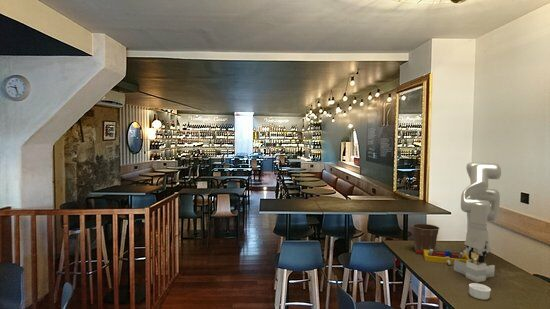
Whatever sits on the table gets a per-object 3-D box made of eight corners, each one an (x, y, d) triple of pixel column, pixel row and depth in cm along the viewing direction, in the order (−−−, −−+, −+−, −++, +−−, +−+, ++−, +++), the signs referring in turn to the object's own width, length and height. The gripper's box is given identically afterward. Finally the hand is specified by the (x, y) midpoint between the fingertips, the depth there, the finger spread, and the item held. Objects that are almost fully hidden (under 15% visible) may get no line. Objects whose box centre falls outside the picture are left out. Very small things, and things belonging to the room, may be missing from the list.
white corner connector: (471, 267, 203) (472, 251, 202) (499, 278, 187) (500, 261, 187) (449, 270, 197) (450, 254, 196) (476, 282, 181) (477, 264, 181)
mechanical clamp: (416, 243, 226) (469, 249, 218) (415, 253, 227) (468, 259, 218) (418, 252, 209) (476, 258, 200) (418, 263, 209) (475, 269, 200)
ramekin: (482, 292, 170) (483, 283, 170) (494, 300, 161) (495, 291, 161) (464, 291, 170) (464, 282, 170) (475, 300, 161) (476, 291, 161)
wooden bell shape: (474, 271, 189) (475, 250, 188) (483, 274, 184) (485, 253, 183) (467, 272, 187) (468, 251, 186) (476, 276, 182) (477, 254, 181)
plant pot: (405, 248, 236) (406, 224, 235) (425, 246, 241) (426, 222, 240) (423, 256, 221) (424, 230, 220) (444, 254, 226) (445, 228, 225)
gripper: (458, 222, 191) (457, 256, 192) (488, 230, 175) (486, 267, 176) (469, 221, 193) (467, 254, 194) (499, 229, 178) (497, 265, 178)
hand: (476, 260), depth 185 cm, fingers closed on wooden bell shape, 5 cm apart
